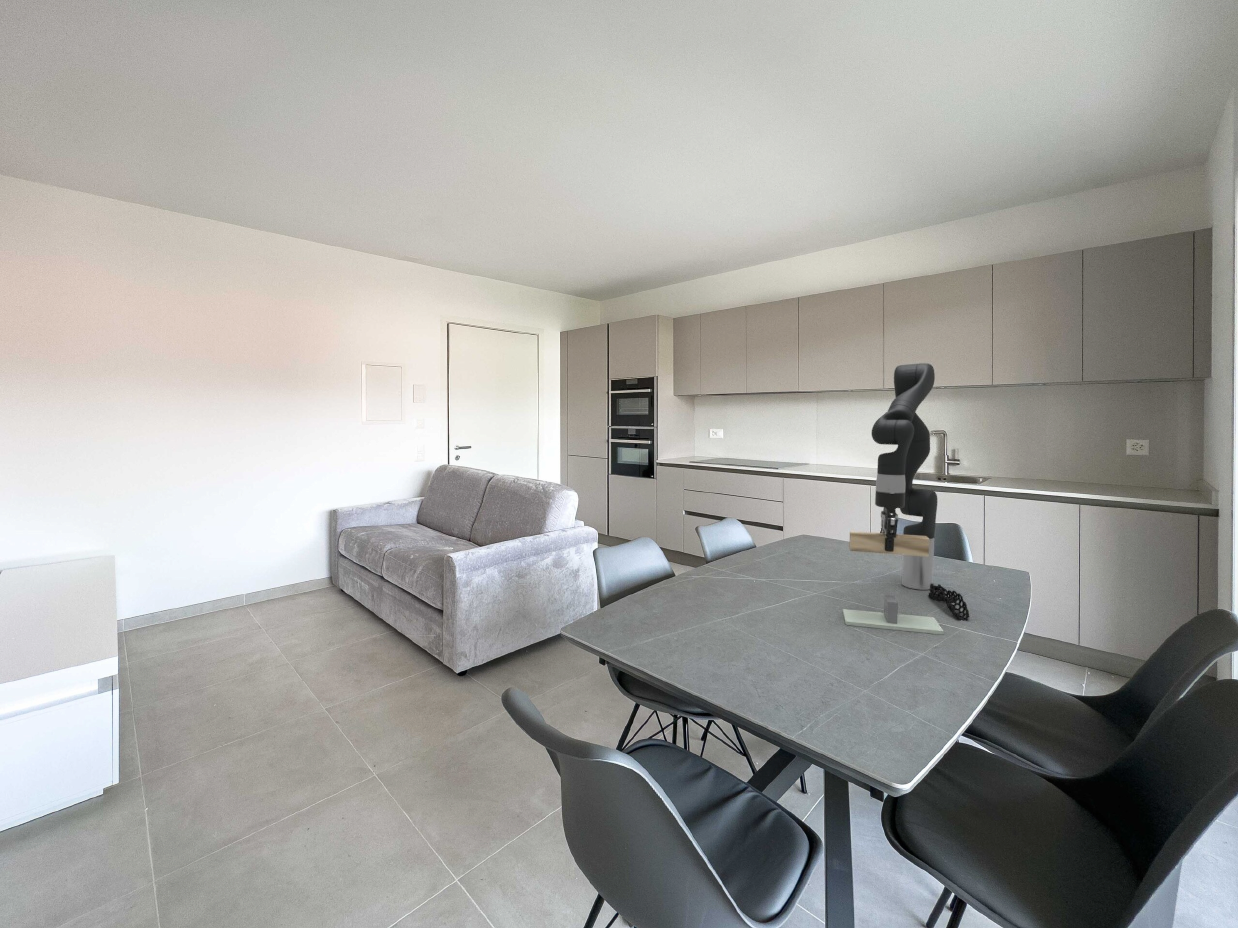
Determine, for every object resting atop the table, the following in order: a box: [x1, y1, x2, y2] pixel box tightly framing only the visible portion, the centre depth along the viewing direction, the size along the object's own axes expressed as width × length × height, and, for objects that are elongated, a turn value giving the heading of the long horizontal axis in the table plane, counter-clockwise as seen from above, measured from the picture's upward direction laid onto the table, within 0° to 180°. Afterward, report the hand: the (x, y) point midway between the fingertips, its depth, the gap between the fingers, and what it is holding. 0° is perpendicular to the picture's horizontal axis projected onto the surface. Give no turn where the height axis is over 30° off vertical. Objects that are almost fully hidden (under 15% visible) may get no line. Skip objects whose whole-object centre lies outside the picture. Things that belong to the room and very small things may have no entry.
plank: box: [848, 530, 929, 557], centre depth 153 cm, size 4×20×5 cm, turn 71°
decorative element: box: [928, 583, 970, 621], centre depth 162 cm, size 22×5×6 cm, turn 170°
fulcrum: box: [842, 594, 944, 636], centre depth 151 cm, size 10×24×7 cm, turn 72°
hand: (887, 549), depth 153 cm, fingers closed on plank, 4 cm apart
